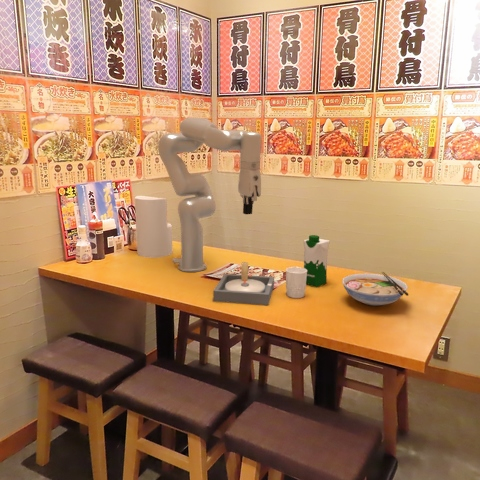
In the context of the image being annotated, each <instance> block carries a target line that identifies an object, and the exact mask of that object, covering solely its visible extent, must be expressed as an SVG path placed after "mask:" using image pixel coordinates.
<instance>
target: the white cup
mask: <svg viewBox="0 0 480 480" xmlns="http://www.w3.org/2000/svg"><path fill="white" fill-rule="evenodd" d="M306 279H307V269H305V268H304V267H300V266H290V267H286V268H285V284H286V285H285V287H286V296H288V297H289V298H291V299H301V298H304V297H305V295H306V294H305V293H306V289H307V284H306Z"/></svg>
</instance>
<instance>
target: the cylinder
mask: <svg viewBox="0 0 480 480" xmlns="http://www.w3.org/2000/svg"><path fill="white" fill-rule="evenodd" d="M167 201H168V200H167V198H165V197H156V196H149V195H148V196H147V195H136V196H134V211H135V228H136V229H135V230H136V232H135V234H136V251H137V255H138V256H140V257H143V258H149V259H150V258H151V259H152V258H154V259H155V258H156V259H157V258H163V257H168V256H170V255H172V254H173V225H172V224H171V223H170V222H168V210H167V209H168V206H167V205H168V204H167Z"/></svg>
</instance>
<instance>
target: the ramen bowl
mask: <svg viewBox="0 0 480 480" xmlns="http://www.w3.org/2000/svg"><path fill="white" fill-rule="evenodd" d="M381 273H382V274H379V273H378V274H377V273H366V272H365V273H354V274H349V275H347V276H345V277H343V278H342V285H343V287H344V289H345V291H346V292H347V293H348V295H349V296H350V297H352V298H353V299H354V300H356V301H358V302H360V303H363V304H365V305H368V306H370V307H373V306H374V307H380V306H386V305H389V304H393V303H395V302H397V301H398V300H399V299H400V298H401V297H403V296H404V295H405V296H409V293H408V292H407V290H408V289H409V287H408V284H407V283H406V282H404V281H403V280H401V279H399V278H396V277H393V276H389V275H387V274H386V273H385V272H384V271H381Z"/></svg>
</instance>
